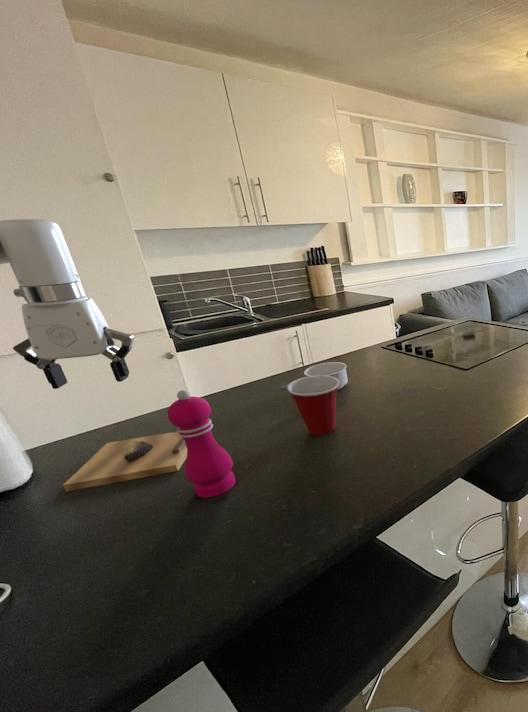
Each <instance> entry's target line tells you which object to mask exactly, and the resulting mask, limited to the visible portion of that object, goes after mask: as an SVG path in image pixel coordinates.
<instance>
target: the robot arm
mask: <svg viewBox="0 0 528 712" xmlns="http://www.w3.org/2000/svg"><path fill="white" fill-rule="evenodd" d="M4 264H9V265H10V267H11V269H12V272H13V275H14V276H15V278H16V281H17V283H18V288H13V291H12V292H13V294H14V297H16V298H23V300H24V301H25V302H26V303H23V304H21V313H22V319H23V324H24V328H25V331H26V334H27V337H28V338H26V339H25V340H23V341H21V342H19V343H17V344H16V345H14V346H13V347H12V350H13V351H15V353H17V354H18V355H19V356H21V357H23V359H24V360H25V361H26V362H28V363H30V364H32V365H35V366H36V368H37V369H39V370H42V371H43V374H44V375H45V378H46V380H47V382H48V384H50V385H51V388H52V389H53V390H57V389H60V388H61V387H64V386H65V385H66V384H68V379H67V377H66V375H65V373H64V370H63V368H62V366H61V364H60V363H59V362H58V363H56V361H57V360H64V359H73V358H82V357H83V358H84V357H92V356H93V357H94V356H99V355H103V356H104V357H106V358H108V359H109V360H110V361H111V362H110V363H109V366H110V368H111V370H112V374H113V376H114V379H115V381H116V382H118V383H120V382H121V383H122V382H123V381H125V380H126V379H128V377H129V376H130V370H129V366H128V365H127V362H126V359H125V358H126V357H127V355H128V354H129V353H130V352H131V350H132V348H133V343H134V340H135V336H134V335H132V334H129V333H125V332H122V331H118V330H115V329H112V328H110V327H109V324H108V322H107V320H106V318H105V317H104V315H103V313H102V311H101V310H100V308H99V306H98V305H97V304H96V302H95V300H94V299H93V298H92V297H88V296H87V293H86V291H85V288H84V285H83V283H82V280H81V278H80V275H79V273H78V270H77V268H76V266H75V262H74V260H73V257H72V255H71V252H70V250H69V247H68V244H67V242H66V239H65V236H64V234H63V232H62V229H61V227H60V226H59V224H57V223H56V222H55V221H53V220H50V219H42V218H25V219H24V218H23V219H22V218H21V219H20V218H17V219H15V218H14V219H2V220H0V265H4ZM115 340H116V341H120V342H121V346H120V347H117V346H116V342H115Z"/></svg>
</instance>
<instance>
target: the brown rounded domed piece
mask: <svg viewBox="0 0 528 712" xmlns="http://www.w3.org/2000/svg"><path fill="white" fill-rule="evenodd" d="M152 448H153V446H152V445H151V444H149V443H146V442H144V441H140V442H137V441H135V442H132V443H130V444H128V445H126V446H125V447H124V448H123V449H122V457H123V459H125V460H126V461H129V462H130V461H134V460H137V459H139V458H140V457H142V456H144V455H146V453H147V452H149V451H150V450H151V449H152Z"/></svg>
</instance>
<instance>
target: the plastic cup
mask: <svg viewBox="0 0 528 712" xmlns="http://www.w3.org/2000/svg"><path fill="white" fill-rule="evenodd" d="M339 382H340V381H339V380H338V379H337V378H334V377H331V376H323V375H322V376H309V377H306V376H305V377H301V378H298V379H294V380H293V381H291V382H290V384H289V383H288V384H289V385H288V387H287V391H288V392H289V394H290V395H291V396H292V398H293V401H294V402H295V404H296V407H297V409H298V411H299V414H300V416H301V418H302V421H303V422H304V424H305V426H306V428H307V431H308V432H309V433H310V435H312V436H316V435H317V436H318V437H319V436H325V435H328V434H330V433H332V432H333V431H334V430H335V429H336V426H337V417H336V415H337V393H338V390H337V387H338V386H339ZM327 433H328V434H327ZM324 434H325V435H324Z"/></svg>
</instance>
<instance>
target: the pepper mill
mask: <svg viewBox="0 0 528 712" xmlns="http://www.w3.org/2000/svg"><path fill="white" fill-rule="evenodd" d="M176 397H177V400H175V401H174V402H173V403H171V404H170V406H169V407H168V408H167V418H168V421H169V422H170V423H171V424H172V425H173V426H175V427H176V432H179V436H180V437H183V439H184V441H185V443H186V446H187V458H186V460H185V461H184V474H185V478H186V480H187V481H188V482H190V483H192V484H193V489H194V492H195V494H196V496H197V497H200V498H204V499H205V498H207V499H208V498H214V497H217V496H220V495H222V494H224V493H226V492H228V491H229V490H231V489H232V488H233V487H234V486H235V484H236V477H235V473H234V472H233V470H232V468H233V465H234V461H233V459H232V456H231V455H230V454H229V452H228V451H227V450H226V449H225V448H224V447H222V446H221V444H219V443H218V442H217V440H216V439H215V437H214V434H213V432H212V429H213V428H214V424H213V423H212V419H211V418H210V416H211V413H212V408H211V405H210V404H209V402H208V401H207V400H206V399H205V398H202V397H200V396H191V393H190V391H188V390H186V389H181V390H179V391H177V393H176Z"/></svg>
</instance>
